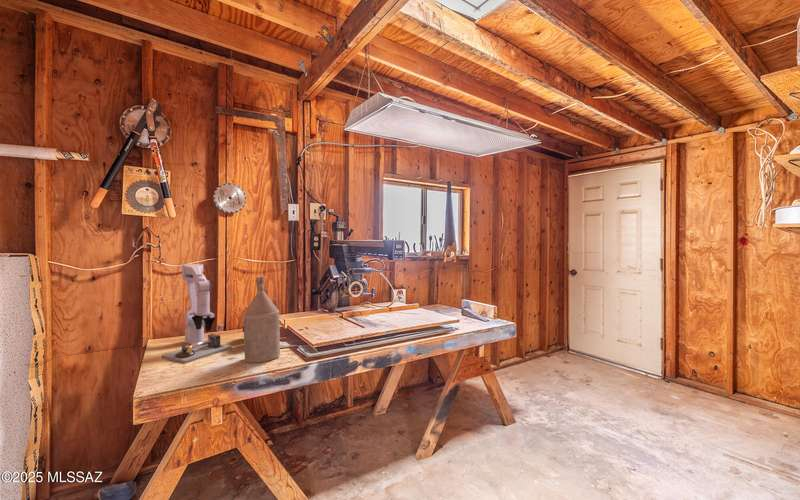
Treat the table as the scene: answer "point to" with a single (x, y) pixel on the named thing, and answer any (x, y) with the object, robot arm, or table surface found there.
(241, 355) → the table surface
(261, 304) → the grey brown bottle
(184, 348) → the headed rod
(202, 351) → the board
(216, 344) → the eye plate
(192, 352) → the handwheel
